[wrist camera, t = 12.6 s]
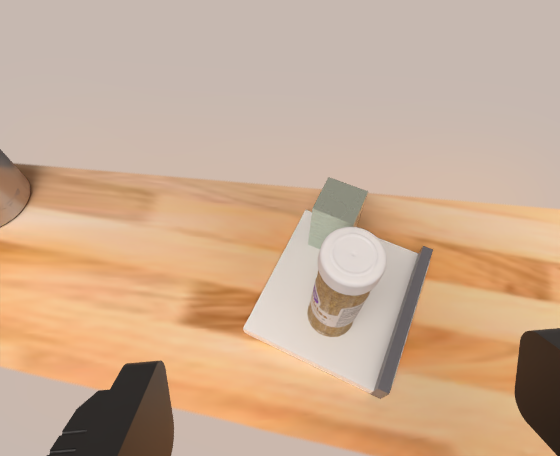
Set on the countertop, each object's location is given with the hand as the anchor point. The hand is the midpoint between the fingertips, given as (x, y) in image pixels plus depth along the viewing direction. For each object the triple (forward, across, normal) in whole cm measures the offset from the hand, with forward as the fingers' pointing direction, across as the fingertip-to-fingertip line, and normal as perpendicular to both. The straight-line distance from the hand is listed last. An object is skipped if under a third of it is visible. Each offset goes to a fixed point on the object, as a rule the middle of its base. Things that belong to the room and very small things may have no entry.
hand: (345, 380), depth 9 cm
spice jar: (+26, -4, +12) cm, 29 cm away
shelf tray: (+29, -6, +12) cm, 32 cm away
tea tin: (+32, -6, +6) cm, 33 cm away
